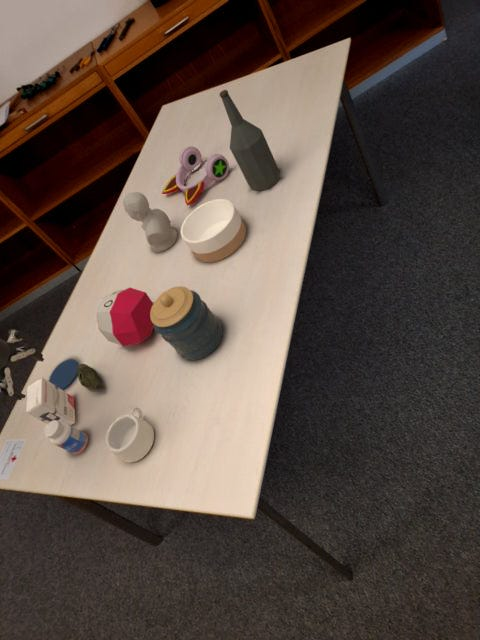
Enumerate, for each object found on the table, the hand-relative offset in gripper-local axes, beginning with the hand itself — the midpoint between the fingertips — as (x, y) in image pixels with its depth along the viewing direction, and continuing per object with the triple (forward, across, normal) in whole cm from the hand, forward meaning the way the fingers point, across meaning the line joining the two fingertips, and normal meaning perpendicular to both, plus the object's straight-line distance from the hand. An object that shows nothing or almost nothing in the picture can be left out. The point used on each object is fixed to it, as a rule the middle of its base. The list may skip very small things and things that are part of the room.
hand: (31, 377), depth 96 cm
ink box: (+23, +3, -5) cm, 23 cm away
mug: (+16, +4, +21) cm, 27 cm away
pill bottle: (+20, +9, +4) cm, 22 cm away
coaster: (+26, -7, -14) cm, 30 cm away
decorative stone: (+23, -7, -1) cm, 24 cm away
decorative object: (+23, -24, +7) cm, 33 cm away
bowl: (+23, -56, +19) cm, 64 cm away
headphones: (+31, -84, -1) cm, 89 cm away
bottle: (+24, -81, +26) cm, 88 cm away
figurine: (+28, -57, -2) cm, 64 cm away
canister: (+18, -23, +27) cm, 39 cm away
